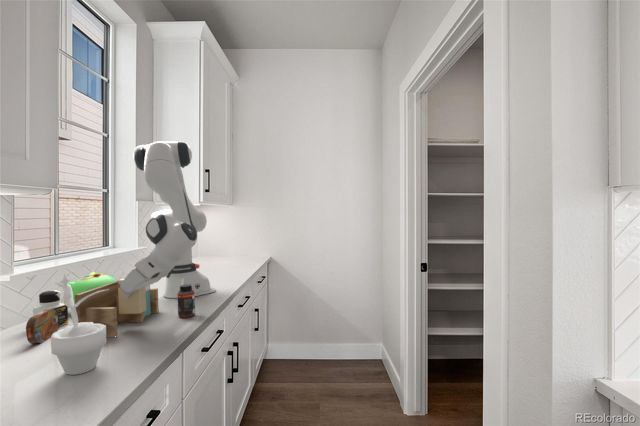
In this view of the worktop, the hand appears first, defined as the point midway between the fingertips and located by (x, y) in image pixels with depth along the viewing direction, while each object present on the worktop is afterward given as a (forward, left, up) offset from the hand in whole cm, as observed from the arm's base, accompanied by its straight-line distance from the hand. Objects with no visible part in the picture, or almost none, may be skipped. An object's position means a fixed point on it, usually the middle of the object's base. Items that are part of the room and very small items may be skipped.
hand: (130, 294), depth 122 cm
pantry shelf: (+2, -7, -11) cm, 13 cm away
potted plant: (+15, +27, -12) cm, 33 cm away
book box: (0, 0, -6) cm, 6 cm away
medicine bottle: (+21, -22, -12) cm, 33 cm away
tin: (+23, -8, -12) cm, 27 cm away
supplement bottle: (-19, -2, -12) cm, 22 cm away
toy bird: (+7, -37, -12) cm, 39 cm away
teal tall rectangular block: (-4, -13, -11) cm, 18 cm away
